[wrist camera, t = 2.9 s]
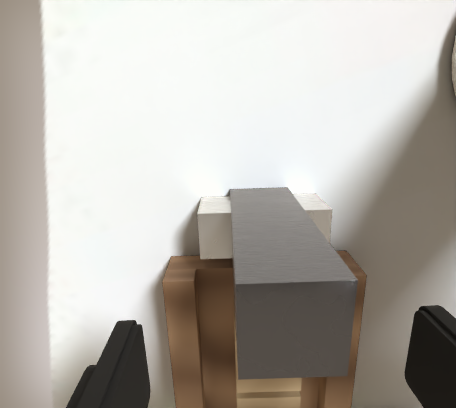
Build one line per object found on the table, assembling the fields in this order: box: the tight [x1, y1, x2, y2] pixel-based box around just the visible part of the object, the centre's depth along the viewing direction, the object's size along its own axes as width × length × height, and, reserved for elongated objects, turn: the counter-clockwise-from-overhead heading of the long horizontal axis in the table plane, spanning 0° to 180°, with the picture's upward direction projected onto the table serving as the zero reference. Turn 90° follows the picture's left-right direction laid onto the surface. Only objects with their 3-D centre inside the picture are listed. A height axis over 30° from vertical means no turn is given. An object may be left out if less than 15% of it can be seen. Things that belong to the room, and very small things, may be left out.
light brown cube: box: [233, 299, 302, 393], centre depth 21 cm, size 4×4×4 cm
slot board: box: [162, 251, 367, 408], centre depth 24 cm, size 14×13×4 cm
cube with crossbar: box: [197, 187, 358, 380], centre depth 16 cm, size 4×8×12 cm, turn 92°
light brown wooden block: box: [235, 361, 301, 408], centre depth 22 cm, size 4×4×4 cm
